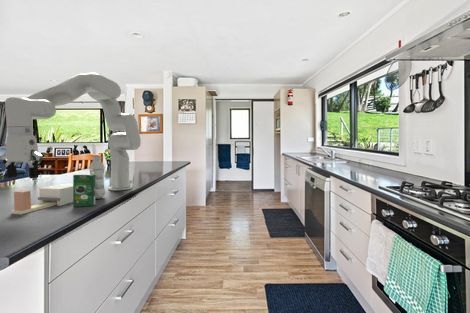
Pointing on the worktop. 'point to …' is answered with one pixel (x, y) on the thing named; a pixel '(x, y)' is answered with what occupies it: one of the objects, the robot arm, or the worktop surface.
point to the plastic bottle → (98, 176)
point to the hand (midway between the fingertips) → (23, 177)
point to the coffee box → (83, 190)
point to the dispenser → (57, 194)
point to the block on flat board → (27, 203)
